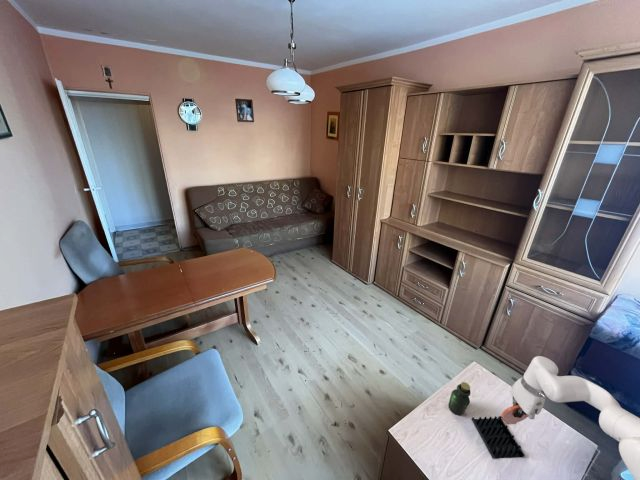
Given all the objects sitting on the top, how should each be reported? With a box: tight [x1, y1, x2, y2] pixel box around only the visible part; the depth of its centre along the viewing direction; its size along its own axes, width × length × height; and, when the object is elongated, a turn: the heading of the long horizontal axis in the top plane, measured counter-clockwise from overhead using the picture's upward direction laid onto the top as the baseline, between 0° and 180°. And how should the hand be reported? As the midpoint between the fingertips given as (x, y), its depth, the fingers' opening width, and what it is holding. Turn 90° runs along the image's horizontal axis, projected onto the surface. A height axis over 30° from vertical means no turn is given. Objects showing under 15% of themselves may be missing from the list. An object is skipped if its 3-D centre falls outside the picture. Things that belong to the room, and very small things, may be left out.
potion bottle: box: [447, 381, 471, 417], centre depth 126 cm, size 8×8×18 cm
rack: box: [471, 415, 526, 460], centre depth 118 cm, size 16×14×5 cm
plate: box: [500, 405, 529, 425], centre depth 108 cm, size 1×11×12 cm, turn 94°
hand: (515, 414), depth 108 cm, fingers closed on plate, 1 cm apart
